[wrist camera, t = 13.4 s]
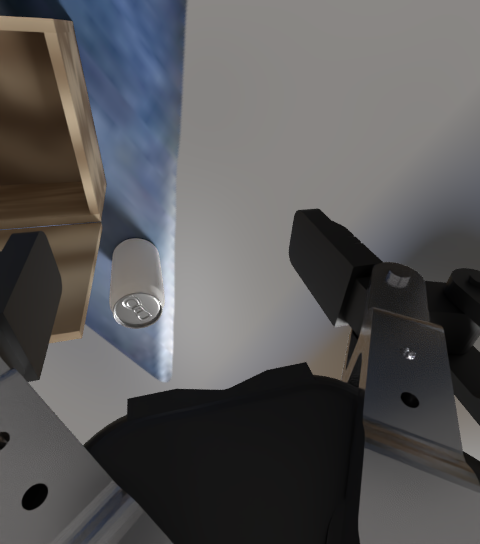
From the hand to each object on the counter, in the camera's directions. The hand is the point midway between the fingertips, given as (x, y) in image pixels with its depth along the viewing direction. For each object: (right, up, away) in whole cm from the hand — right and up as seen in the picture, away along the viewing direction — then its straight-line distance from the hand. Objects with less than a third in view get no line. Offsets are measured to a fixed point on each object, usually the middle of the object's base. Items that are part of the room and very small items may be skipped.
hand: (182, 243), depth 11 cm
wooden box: (-21, +16, +23) cm, 35 cm away
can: (-13, +1, +36) cm, 39 cm away
